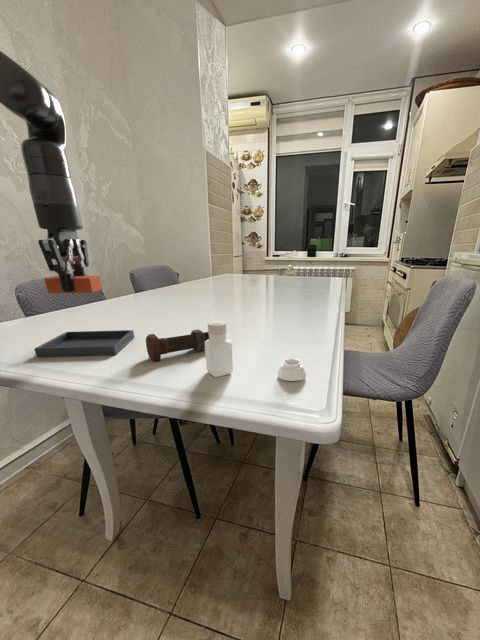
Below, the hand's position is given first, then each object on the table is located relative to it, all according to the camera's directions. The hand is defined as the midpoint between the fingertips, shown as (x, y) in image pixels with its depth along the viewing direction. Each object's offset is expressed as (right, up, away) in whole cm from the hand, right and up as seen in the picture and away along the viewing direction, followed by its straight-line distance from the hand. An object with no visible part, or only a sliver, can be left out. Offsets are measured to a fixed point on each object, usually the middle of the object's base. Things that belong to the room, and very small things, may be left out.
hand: (75, 289), depth 64 cm
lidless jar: (+46, -18, -12) cm, 51 cm away
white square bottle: (+33, -18, -10) cm, 39 cm away
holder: (+1, -13, +4) cm, 13 cm away
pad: (0, 0, 0) cm, 0 cm away
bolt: (+24, -14, 0) cm, 28 cm away
